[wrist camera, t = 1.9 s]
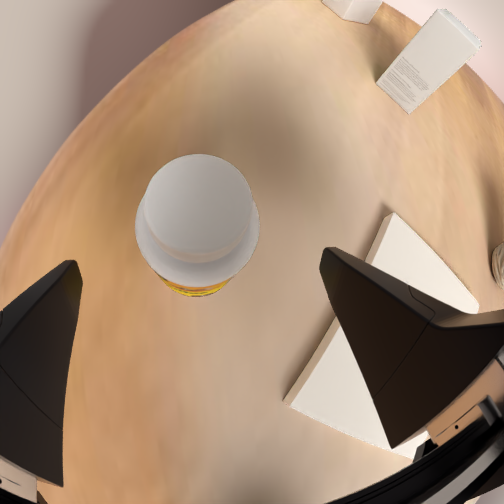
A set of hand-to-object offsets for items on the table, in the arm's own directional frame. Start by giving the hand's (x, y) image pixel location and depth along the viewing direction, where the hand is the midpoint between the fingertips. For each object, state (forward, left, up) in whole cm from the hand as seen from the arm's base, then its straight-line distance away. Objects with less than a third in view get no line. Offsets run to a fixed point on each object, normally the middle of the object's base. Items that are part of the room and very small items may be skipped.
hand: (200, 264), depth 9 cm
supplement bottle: (+2, +1, -10) cm, 10 cm away
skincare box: (+37, -6, -10) cm, 39 cm away
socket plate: (+6, -18, -10) cm, 21 cm away
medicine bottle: (+54, +10, -10) cm, 56 cm away
